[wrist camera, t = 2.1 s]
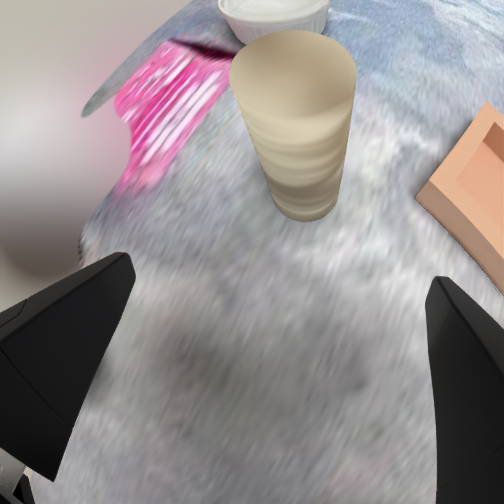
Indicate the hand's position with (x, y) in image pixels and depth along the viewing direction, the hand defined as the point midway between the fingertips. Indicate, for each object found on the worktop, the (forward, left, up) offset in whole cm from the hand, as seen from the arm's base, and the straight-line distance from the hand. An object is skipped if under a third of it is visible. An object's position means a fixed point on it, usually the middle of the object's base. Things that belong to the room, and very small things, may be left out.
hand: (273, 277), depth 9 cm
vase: (+6, +5, -14) cm, 16 cm away
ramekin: (+19, +20, -14) cm, 31 cm away
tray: (+17, -7, -14) cm, 23 cm away
